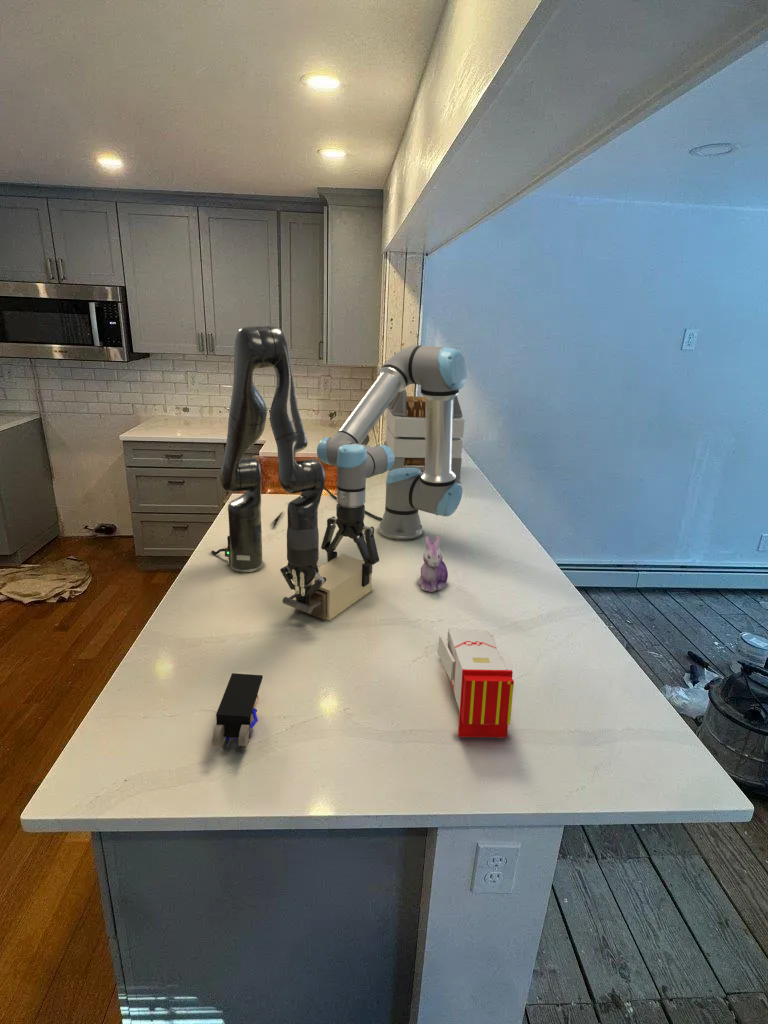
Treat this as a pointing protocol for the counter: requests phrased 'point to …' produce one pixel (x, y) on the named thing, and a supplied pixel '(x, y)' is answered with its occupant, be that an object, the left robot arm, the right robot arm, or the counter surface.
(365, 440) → the fossil
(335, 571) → the cabinet
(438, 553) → the figurine
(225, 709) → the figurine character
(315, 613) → the drawer
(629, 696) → the counter surface
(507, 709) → the toy
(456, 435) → the grey slatted crate
